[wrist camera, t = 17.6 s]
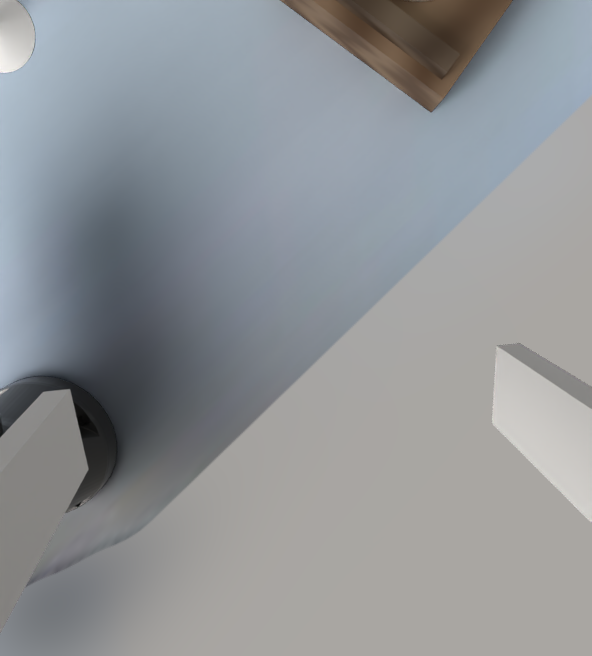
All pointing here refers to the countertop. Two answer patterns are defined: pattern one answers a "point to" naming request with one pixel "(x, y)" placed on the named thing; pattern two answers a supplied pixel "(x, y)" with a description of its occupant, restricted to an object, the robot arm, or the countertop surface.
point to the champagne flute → (15, 36)
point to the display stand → (408, 37)
